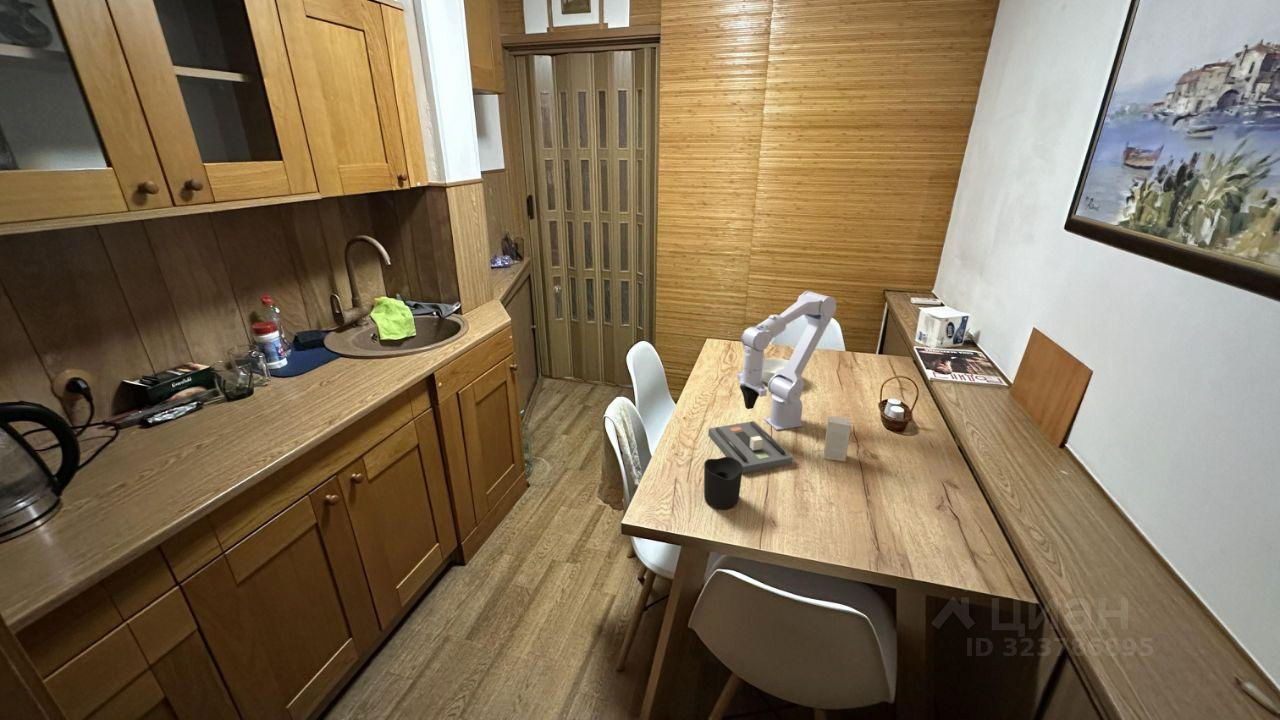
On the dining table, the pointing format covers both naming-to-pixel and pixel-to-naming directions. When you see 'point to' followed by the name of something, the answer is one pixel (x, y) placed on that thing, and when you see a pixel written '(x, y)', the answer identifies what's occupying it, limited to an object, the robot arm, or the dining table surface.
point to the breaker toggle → (756, 443)
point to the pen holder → (722, 482)
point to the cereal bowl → (772, 368)
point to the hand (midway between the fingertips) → (749, 407)
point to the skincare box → (837, 438)
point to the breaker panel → (738, 447)
